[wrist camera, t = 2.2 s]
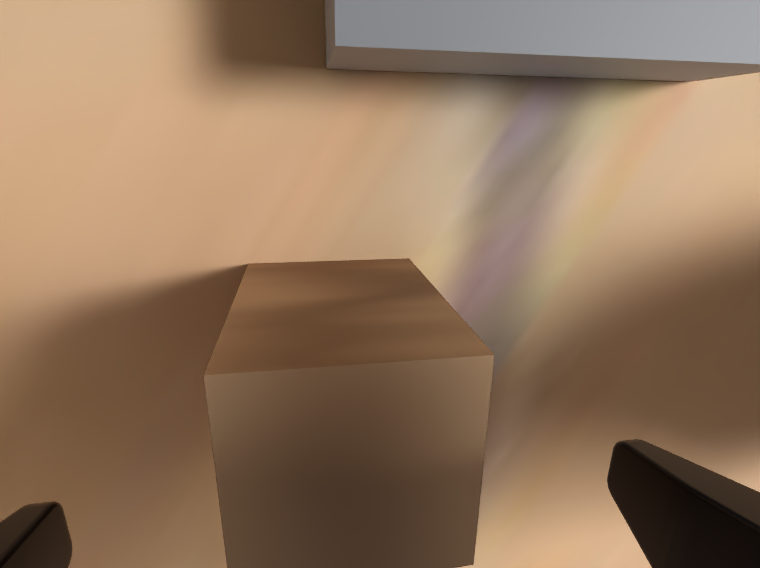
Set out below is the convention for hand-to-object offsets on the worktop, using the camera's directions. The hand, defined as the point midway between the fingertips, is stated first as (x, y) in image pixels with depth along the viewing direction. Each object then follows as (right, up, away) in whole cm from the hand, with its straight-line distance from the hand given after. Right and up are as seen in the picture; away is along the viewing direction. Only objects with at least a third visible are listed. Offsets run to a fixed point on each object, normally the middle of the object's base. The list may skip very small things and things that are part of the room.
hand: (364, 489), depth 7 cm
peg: (-1, +2, +6) cm, 6 cm away
